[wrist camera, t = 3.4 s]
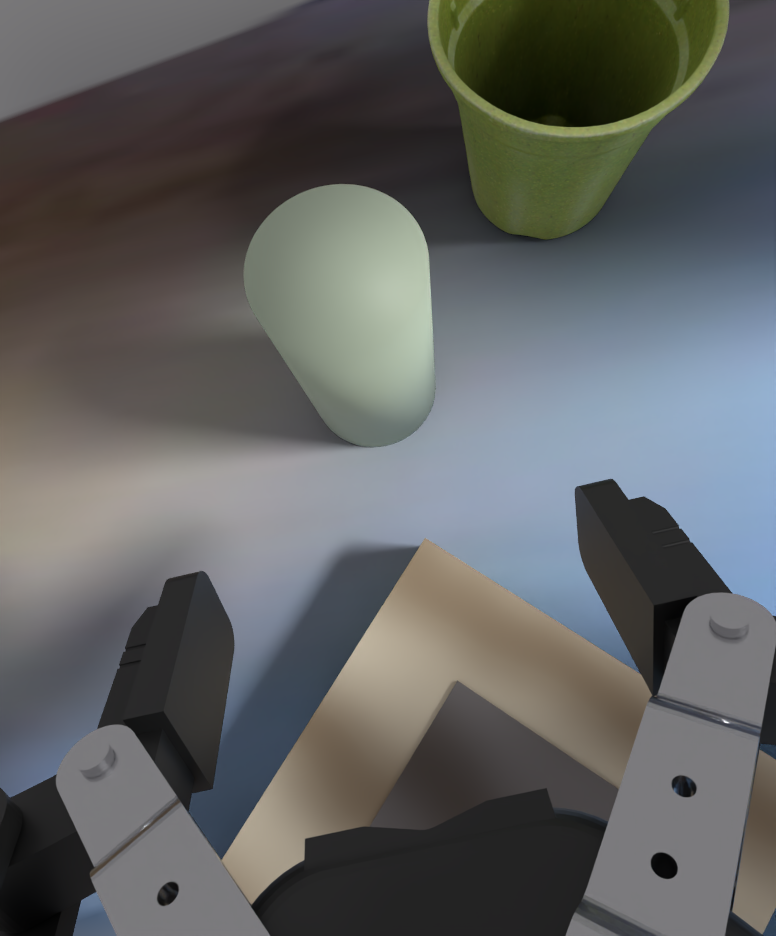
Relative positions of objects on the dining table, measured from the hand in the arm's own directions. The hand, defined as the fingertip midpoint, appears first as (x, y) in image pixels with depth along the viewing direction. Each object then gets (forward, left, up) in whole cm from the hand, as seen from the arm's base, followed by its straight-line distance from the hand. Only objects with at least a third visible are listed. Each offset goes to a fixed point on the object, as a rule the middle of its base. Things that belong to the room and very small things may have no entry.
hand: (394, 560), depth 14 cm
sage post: (-6, -6, -12) cm, 15 cm away
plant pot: (-18, -5, -12) cm, 22 cm away
